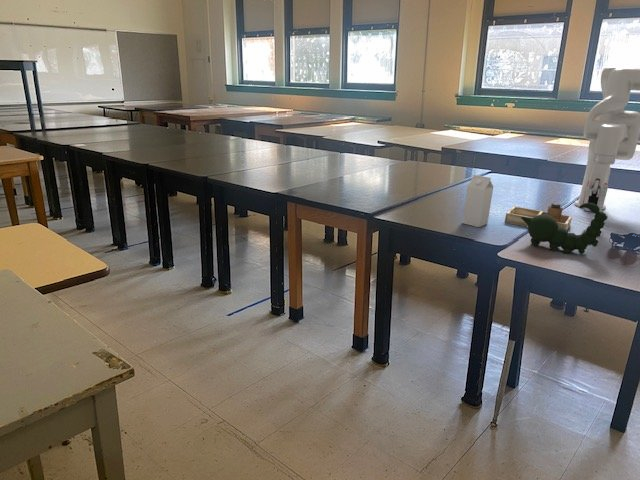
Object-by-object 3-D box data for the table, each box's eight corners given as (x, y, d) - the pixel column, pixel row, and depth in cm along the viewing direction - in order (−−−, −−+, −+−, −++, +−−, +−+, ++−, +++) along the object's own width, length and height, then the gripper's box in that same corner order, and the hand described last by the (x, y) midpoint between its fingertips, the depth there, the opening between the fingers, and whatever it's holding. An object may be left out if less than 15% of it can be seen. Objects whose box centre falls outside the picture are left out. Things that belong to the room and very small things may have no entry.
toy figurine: (593, 257, 163) (517, 235, 175) (612, 204, 156) (532, 185, 168) (589, 265, 156) (511, 242, 168) (609, 211, 148) (526, 190, 160)
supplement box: (602, 213, 184) (609, 184, 179) (585, 212, 185) (592, 183, 181) (597, 208, 189) (604, 180, 185) (580, 207, 190) (587, 179, 186)
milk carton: (471, 219, 193) (478, 173, 187) (487, 224, 189) (495, 176, 182) (461, 223, 188) (468, 175, 182) (478, 227, 184) (486, 179, 177)
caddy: (512, 214, 202) (516, 194, 198) (570, 225, 190) (574, 203, 187) (504, 222, 191) (508, 200, 188) (564, 233, 180) (569, 210, 177)
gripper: (595, 153, 188) (585, 196, 195) (589, 161, 174) (578, 207, 181) (617, 155, 184) (606, 200, 191) (613, 164, 171) (601, 211, 177)
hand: (592, 203), depth 186 cm, fingers closed on supplement box, 7 cm apart
